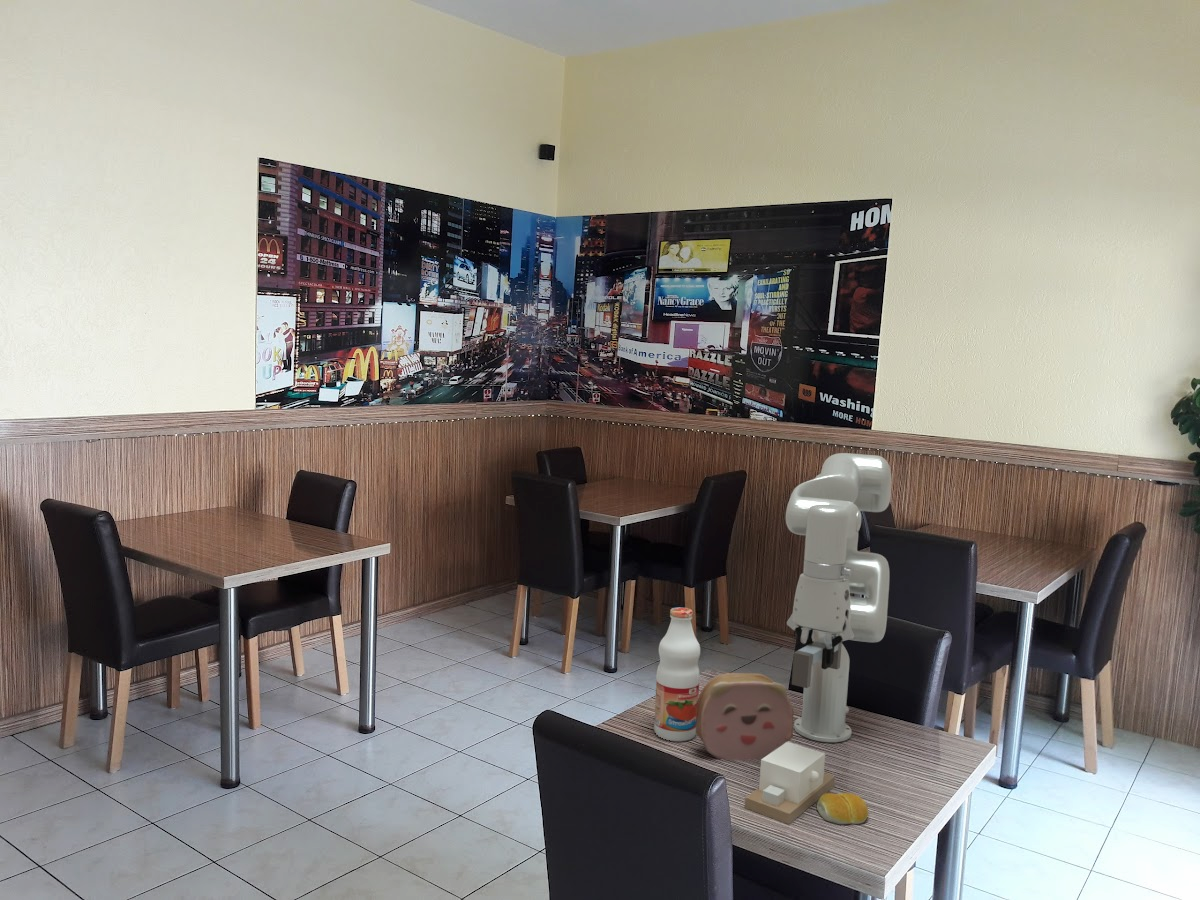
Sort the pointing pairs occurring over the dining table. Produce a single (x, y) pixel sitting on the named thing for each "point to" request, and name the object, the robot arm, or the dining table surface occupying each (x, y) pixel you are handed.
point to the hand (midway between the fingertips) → (817, 664)
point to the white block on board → (789, 782)
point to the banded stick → (811, 661)
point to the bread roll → (842, 808)
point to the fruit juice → (677, 679)
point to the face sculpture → (743, 716)
